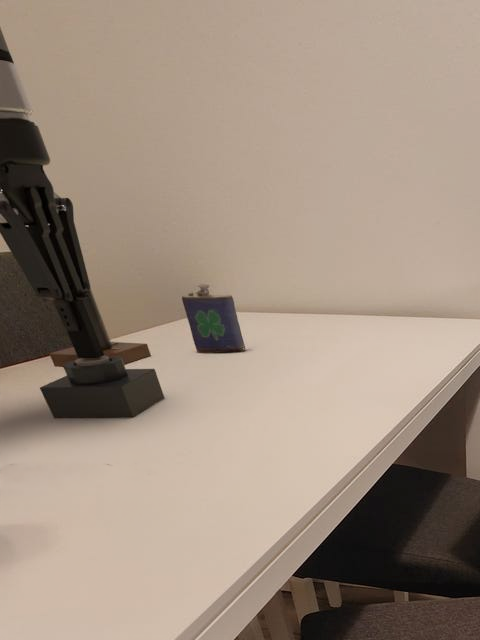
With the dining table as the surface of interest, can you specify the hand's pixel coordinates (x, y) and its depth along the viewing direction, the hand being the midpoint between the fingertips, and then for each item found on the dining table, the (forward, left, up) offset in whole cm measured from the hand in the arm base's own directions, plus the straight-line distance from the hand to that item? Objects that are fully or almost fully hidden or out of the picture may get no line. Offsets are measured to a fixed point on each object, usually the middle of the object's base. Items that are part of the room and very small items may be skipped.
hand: (91, 356), depth 77 cm
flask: (+2, +34, -7) cm, 35 cm away
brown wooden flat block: (-17, +28, -7) cm, 33 cm away
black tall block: (-17, +28, -5) cm, 33 cm away
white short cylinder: (0, 0, -2) cm, 2 cm away
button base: (0, 0, -7) cm, 7 cm away
